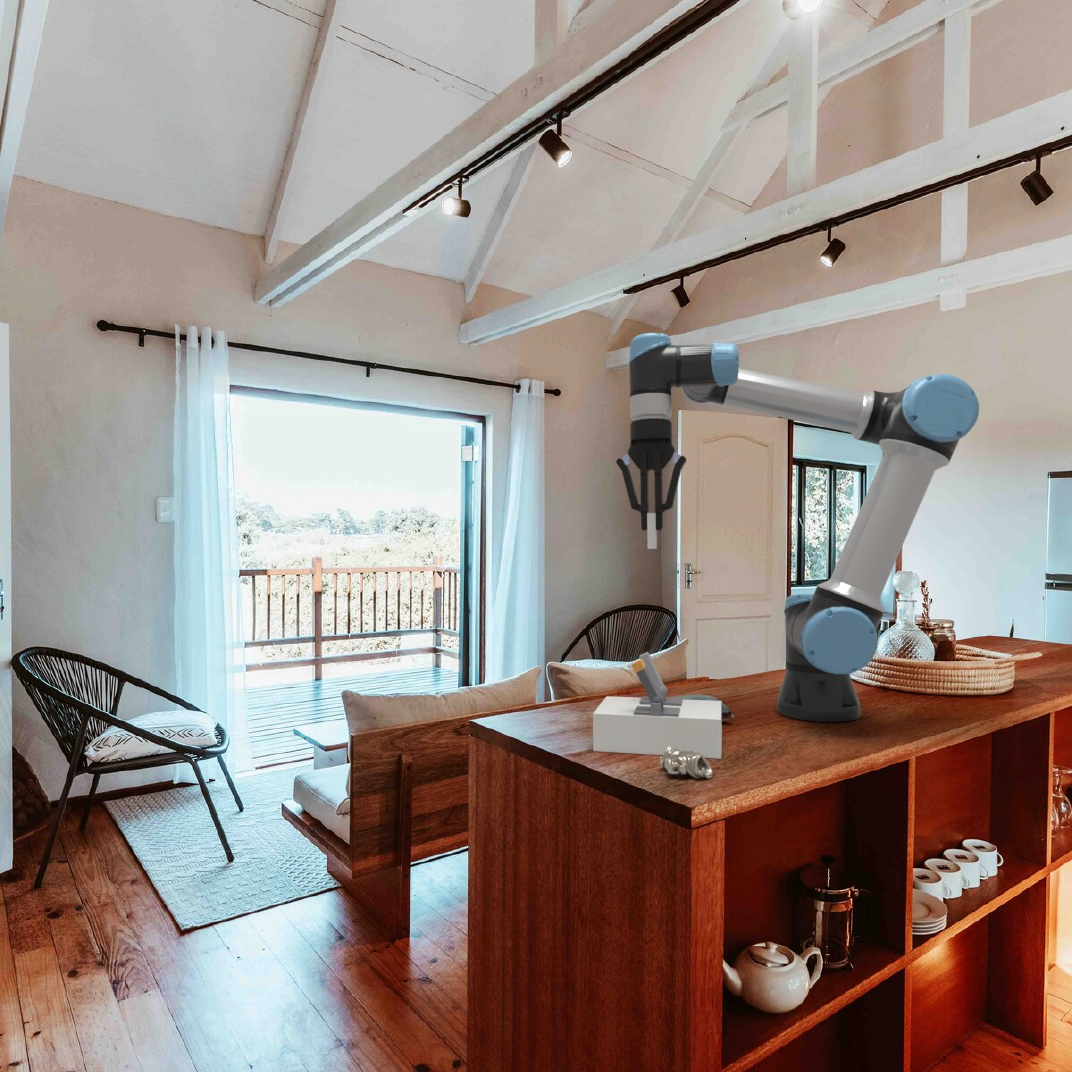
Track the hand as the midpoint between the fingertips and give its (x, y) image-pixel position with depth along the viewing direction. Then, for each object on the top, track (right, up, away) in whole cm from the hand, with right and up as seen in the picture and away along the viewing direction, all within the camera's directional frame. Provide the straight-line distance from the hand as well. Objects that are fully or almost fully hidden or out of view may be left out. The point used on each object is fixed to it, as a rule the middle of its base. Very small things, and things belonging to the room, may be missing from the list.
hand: (652, 548), depth 137 cm
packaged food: (+9, -33, +3) cm, 34 cm away
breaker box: (-1, -32, -13) cm, 35 cm away
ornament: (0, -33, -29) cm, 44 cm away
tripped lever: (-2, -24, -16) cm, 29 cm away
